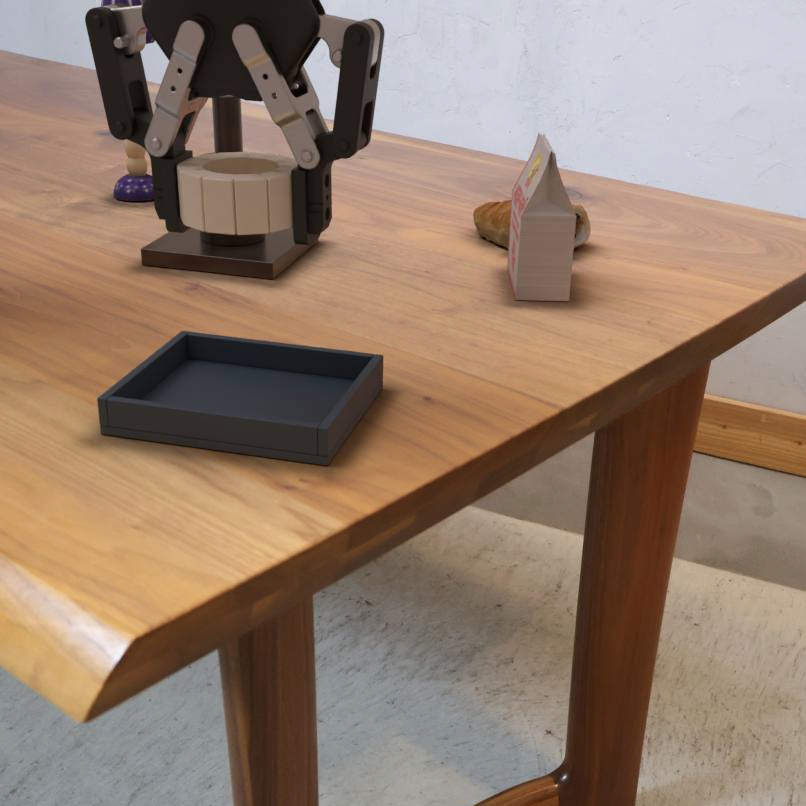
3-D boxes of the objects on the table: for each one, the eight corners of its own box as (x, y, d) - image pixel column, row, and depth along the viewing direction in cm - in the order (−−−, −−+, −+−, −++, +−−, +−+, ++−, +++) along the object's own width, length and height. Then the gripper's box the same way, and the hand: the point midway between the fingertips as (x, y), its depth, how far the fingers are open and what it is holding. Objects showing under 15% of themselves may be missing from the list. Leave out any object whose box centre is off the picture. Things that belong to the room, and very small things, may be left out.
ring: (160, 228, 55) (156, 173, 53) (211, 198, 60) (207, 148, 59) (280, 239, 54) (278, 184, 52) (321, 208, 59) (320, 157, 58)
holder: (141, 264, 83) (127, 100, 78) (198, 228, 91) (189, 78, 86) (273, 279, 81) (268, 112, 76) (318, 241, 90) (316, 88, 85)
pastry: (453, 238, 92) (455, 190, 90) (502, 222, 97) (505, 177, 95) (551, 263, 87) (555, 213, 85) (598, 245, 92) (602, 198, 90)
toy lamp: (101, 192, 100) (81, -13, 93) (149, 185, 103) (134, -15, 96) (128, 204, 97) (110, -8, 90) (177, 197, 100) (163, -9, 93)
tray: (100, 434, 58) (96, 398, 57) (183, 362, 67) (181, 330, 66) (327, 466, 56) (327, 429, 55) (383, 387, 65) (383, 354, 64)
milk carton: (556, 270, 85) (568, 133, 81) (568, 301, 79) (581, 154, 75) (507, 269, 85) (515, 132, 80) (515, 299, 79) (525, 153, 74)
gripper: (27, -154, 48) (73, 242, 55) (361, -143, 45) (362, 271, 52) (113, -148, 54) (144, 204, 62) (408, -139, 52) (404, 228, 59)
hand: (244, 233), depth 57 cm, fingers closed on ring, 6 cm apart
